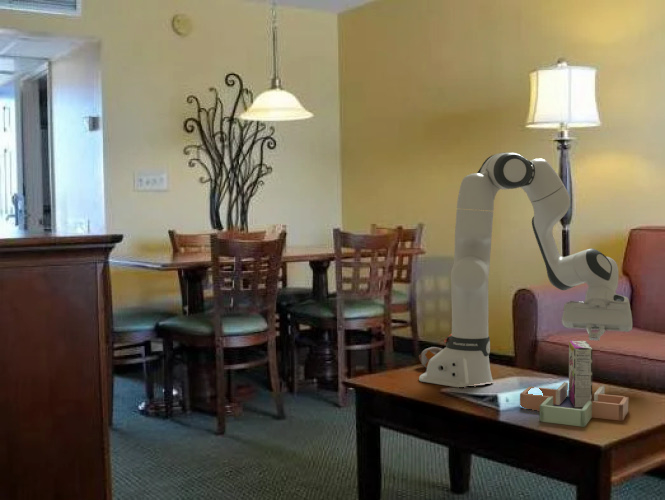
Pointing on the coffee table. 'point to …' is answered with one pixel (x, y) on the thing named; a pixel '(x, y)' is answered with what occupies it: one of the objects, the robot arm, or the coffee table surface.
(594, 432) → the coffee table surface
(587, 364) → the candy bar box
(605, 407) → the channel
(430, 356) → the decorative duck model
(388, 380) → the coffee table surface
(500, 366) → the coffee table surface
